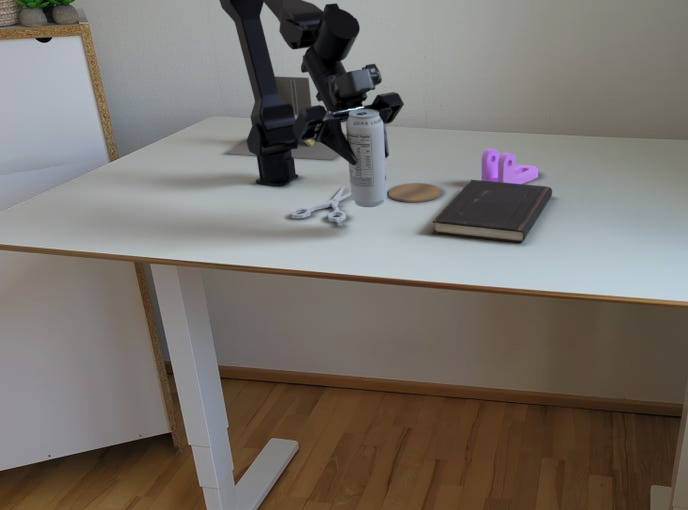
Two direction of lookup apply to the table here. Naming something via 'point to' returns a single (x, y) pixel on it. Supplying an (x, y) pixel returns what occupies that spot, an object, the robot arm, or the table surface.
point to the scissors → (329, 203)
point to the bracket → (505, 168)
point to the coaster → (414, 192)
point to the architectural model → (298, 97)
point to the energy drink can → (367, 157)
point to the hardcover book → (493, 211)
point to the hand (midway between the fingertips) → (371, 160)
